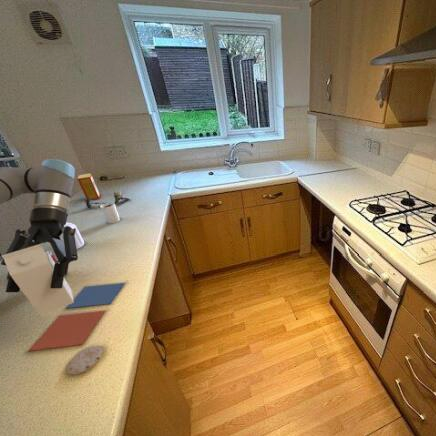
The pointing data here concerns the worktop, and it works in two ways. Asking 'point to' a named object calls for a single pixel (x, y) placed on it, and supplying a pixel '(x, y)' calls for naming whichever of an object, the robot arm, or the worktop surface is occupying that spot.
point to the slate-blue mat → (96, 295)
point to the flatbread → (84, 359)
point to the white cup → (110, 212)
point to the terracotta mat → (68, 331)
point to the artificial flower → (89, 203)
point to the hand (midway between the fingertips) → (34, 290)
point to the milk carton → (37, 279)
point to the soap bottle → (78, 237)
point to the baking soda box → (89, 186)
